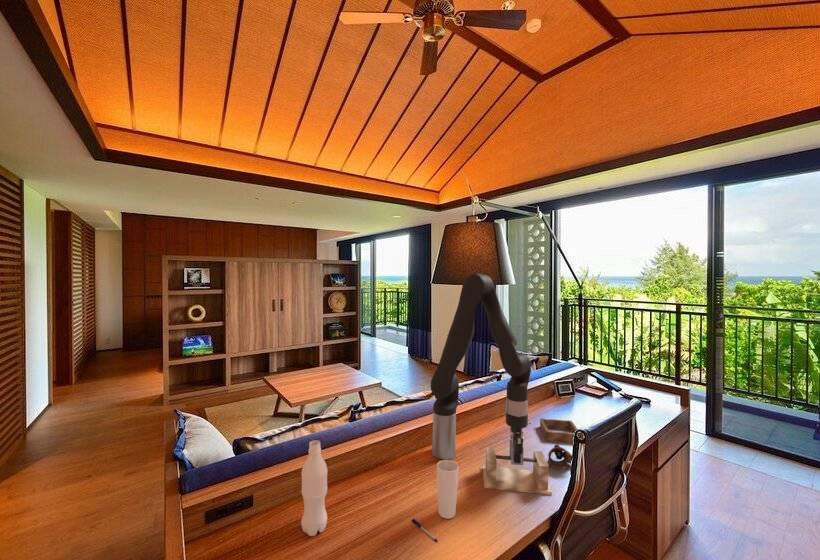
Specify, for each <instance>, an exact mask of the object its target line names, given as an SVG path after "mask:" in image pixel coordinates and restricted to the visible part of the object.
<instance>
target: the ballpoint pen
mask: <svg viewBox="0 0 820 560" xmlns="http://www.w3.org/2000/svg"><path fill="white" fill-rule="evenodd" d="M411 522H412V523H414V524H415V525H416V526H417V527H418V528H419V529H420V530H422V531H423V532H424V533H425V534H426V535H427V536H429V537H430V538H431V539H432V540H433V541H434V542H438V539H437V538H436V537H435V536H433V534H431V533H430V532H429V531H428V530H427V529H425V527H423V526H422V525H421V523H420V522H418V520H416V519H415V518H412V519H411Z"/></svg>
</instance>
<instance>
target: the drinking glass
mask: <svg viewBox="0 0 820 560" xmlns="http://www.w3.org/2000/svg"><path fill="white" fill-rule="evenodd" d="M459 470H460V467H459V464H458V463H457V462H456V461H454V460H451V459H440V461H438V462H437V464H436V472H435V473H436V489H437V490H436V491H437V493H436V494H437V506H438V509H437V512H438V515H439V516H440V517H441V518H442V519H446V520H449V519H453V518H454V517H455V516H456V514H457V501H458V489H459V481H460V480H459V479H460V471H459Z"/></svg>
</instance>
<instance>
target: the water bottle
mask: <svg viewBox="0 0 820 560" xmlns="http://www.w3.org/2000/svg"><path fill="white" fill-rule="evenodd" d="M308 447H309V448H308V455H307V458H306V460H305V463H304V464H303V466H302V469H301V495H302V496H301V497H302V499H303V507H304V508H303V515H302V517H301V520H300V525H301V529H302V531H303V532H304V534H307V535H308V537H309V536H310V537H315V536H317V534H318V532H319V533H323V532H324V531H325V528H326V526H327V523H328V514H327V510H326V504H325V499H326V496H327V493H328V491H329V490H328V465H327V463H326V461H325V459H324V458H323V456H322V453H321V452H322V448H321V447H322V446H321V441H320V440H314V439H313V440H311V441H309V445H308Z"/></svg>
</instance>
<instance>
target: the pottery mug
mask: <svg viewBox="0 0 820 560" xmlns="http://www.w3.org/2000/svg"><path fill="white" fill-rule="evenodd" d="M553 453H554V454H555V457H556V459H557V460H554V459H552V457H551V456H552V454H553ZM547 455H548V460H547V464H548V466H549V468H555V469H563V468H567V469H568V468H569V467H568V464H570V465H572V464H571V461H572V456H573V455H572V453H570V451H568V450H566V449H565V448H563V447H561V446H560V445H559V444H554V446H553V447H552V448H551V449H550V450H549V452H548V453H547Z"/></svg>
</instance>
